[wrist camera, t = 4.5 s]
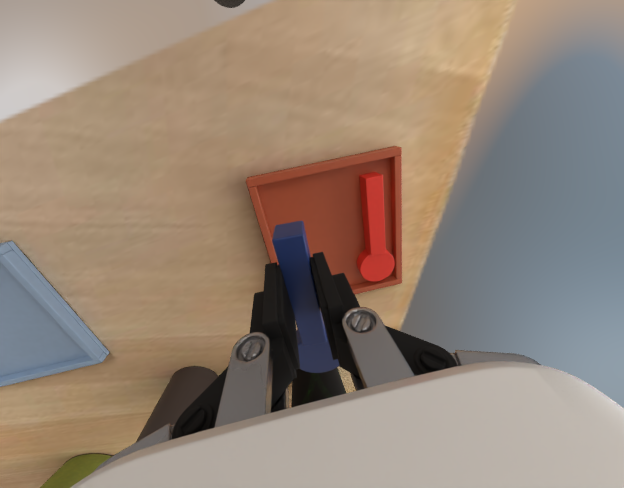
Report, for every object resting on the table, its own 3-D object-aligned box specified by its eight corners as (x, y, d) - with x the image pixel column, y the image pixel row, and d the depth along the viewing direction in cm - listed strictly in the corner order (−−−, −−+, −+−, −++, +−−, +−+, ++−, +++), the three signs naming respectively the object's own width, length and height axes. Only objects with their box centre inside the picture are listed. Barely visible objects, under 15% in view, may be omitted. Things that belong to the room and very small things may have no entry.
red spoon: (347, 177, 19) (352, 181, 18) (386, 169, 19) (395, 172, 18) (358, 278, 24) (363, 287, 22) (389, 270, 24) (397, 279, 23)
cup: (321, 393, 32) (344, 523, 22) (272, 379, 30) (271, 520, 19) (355, 357, 30) (399, 484, 19) (305, 339, 27) (324, 475, 17)
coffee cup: (240, 365, 28) (223, 477, 19) (219, 406, 30) (196, 520, 22) (166, 351, 25) (106, 473, 16) (151, 397, 28) (93, 522, 19)
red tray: (247, 177, 18) (245, 180, 17) (394, 146, 19) (401, 147, 18) (285, 303, 24) (285, 311, 23) (396, 276, 25) (402, 283, 24)
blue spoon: (254, 228, 11) (248, 244, 10) (323, 215, 11) (327, 229, 10) (297, 360, 16) (297, 383, 15) (345, 352, 16) (350, 374, 15)
